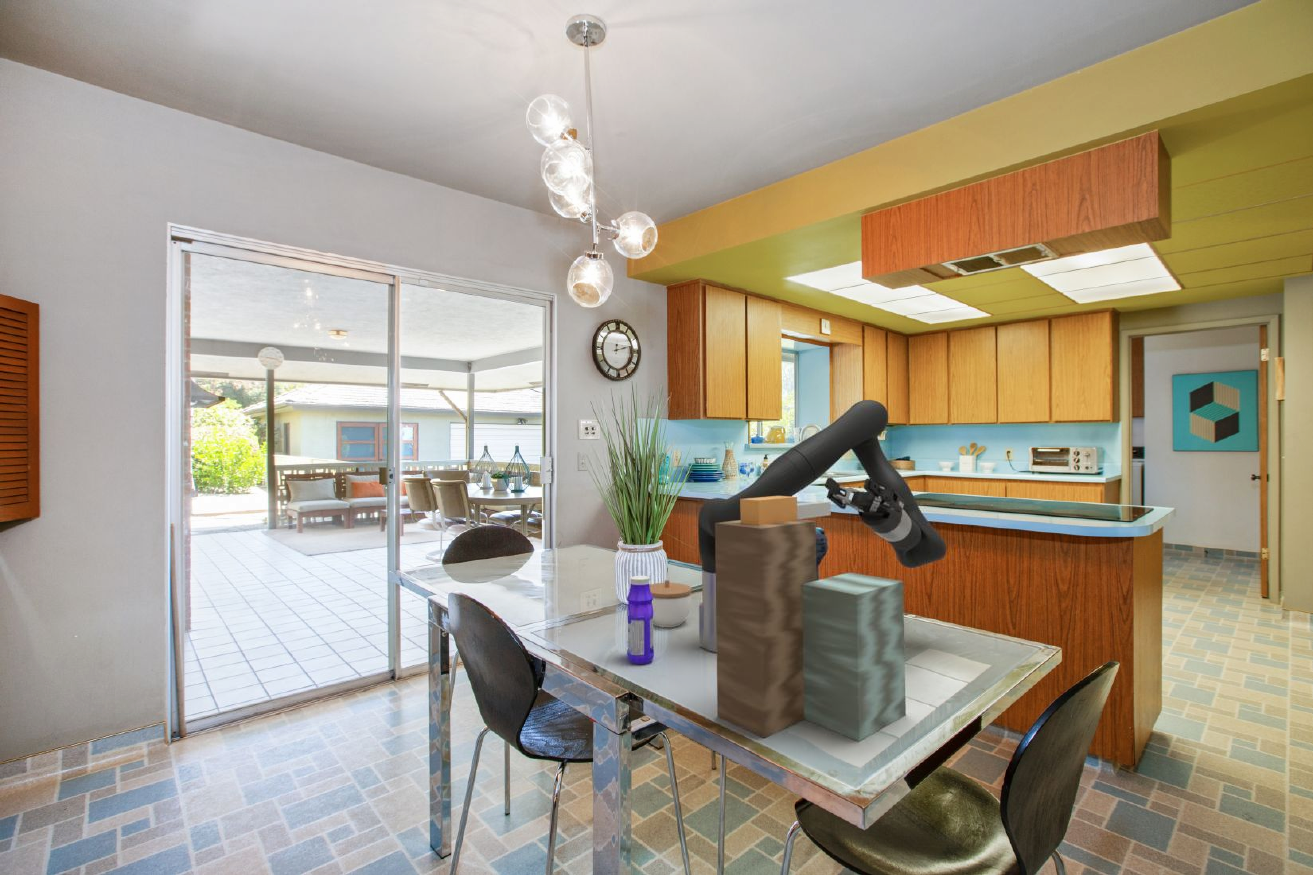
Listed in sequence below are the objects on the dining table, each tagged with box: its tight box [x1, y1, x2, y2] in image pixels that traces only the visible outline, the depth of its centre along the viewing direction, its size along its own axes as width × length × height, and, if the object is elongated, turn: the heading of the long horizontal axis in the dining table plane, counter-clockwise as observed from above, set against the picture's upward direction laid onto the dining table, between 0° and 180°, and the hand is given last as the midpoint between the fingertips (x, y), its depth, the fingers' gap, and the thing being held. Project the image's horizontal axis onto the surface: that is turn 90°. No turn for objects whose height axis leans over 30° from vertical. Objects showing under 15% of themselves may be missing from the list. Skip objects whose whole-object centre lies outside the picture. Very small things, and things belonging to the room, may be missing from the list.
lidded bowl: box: [649, 579, 693, 629], centre depth 153 cm, size 13×13×11 cm
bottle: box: [626, 575, 655, 665], centre depth 127 cm, size 7×6×17 cm
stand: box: [715, 519, 907, 742], centre depth 99 cm, size 24×20×32 cm
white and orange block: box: [740, 496, 832, 525], centre depth 105 cm, size 21×4×4 cm, turn 130°
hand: (846, 482), depth 116 cm, fingers open, 8 cm apart
